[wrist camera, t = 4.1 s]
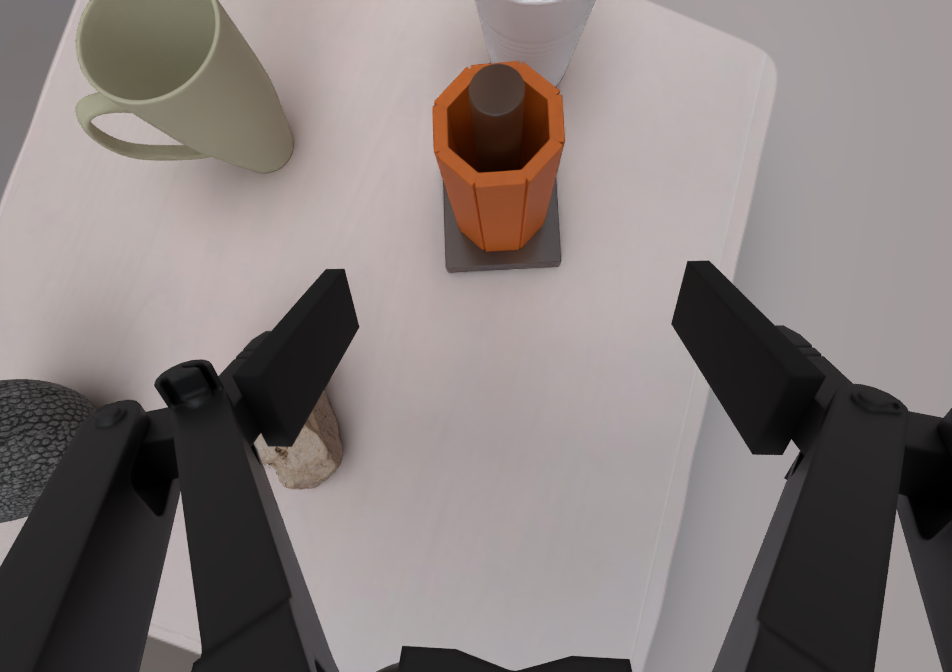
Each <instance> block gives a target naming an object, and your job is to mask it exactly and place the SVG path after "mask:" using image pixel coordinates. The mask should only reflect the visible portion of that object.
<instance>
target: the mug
mask: <svg viewBox="0 0 952 672" xmlns="http://www.w3.org/2000/svg"><path fill="white" fill-rule="evenodd" d="M76 53H77V58H78V62H79V65H80V68H81V70H82V72H83V74H84V76H85V77H86V79H87V80H88V82H89V83H90V84H91V85H92V86H93V87H94V88H95V89H96V90H97V91H98V93H94V94H91V95H88V96H86V97H84V98H82V99H81V100H80V101H79V102H78V103H77V105H76V116H77V119H78V121H79V123H80V125H81V127H82V128H83V130H84V131H85V132H86V133H87V134H88V135H89V136H90V137H91V138H92V139H93V140H94V141H96V142H97V143H99V144H100V145H102V146H103V147H105V148H107V149H109V150H111V151H113V152H115V153H118V154H120V155H123V156H127V157H130V158H135V159H142V160H158V161H163V160H192V159H203V158H209V157H212V158H215V159H217V160H221V161H224V162H227V163H230V164H234V165H237V166H240V167H244V168H247V169H250V170H253V171H257V172H261V173H268V172H273V171H276V170H278V169H279V168H281V167H282V166H283V165H285V163H286V162H287V161H288V160H289V158H290V156H291V154H292V151H293V137H292V134H291V131H290V128H289V126H288V123H287V120H286V117H285V115H284V112H283V109H282V106H281V103H280V101H279V98H278V95H277V93H276V91H275V88H274V86H273V84H272V82H271V80H270V78H269V76H268V74H267V73H266V71H265V69H264V68H263V66H262V64H261V63H260V61H259V60H258V58H257V57H256V55H255V53H254V52H253V50H252V49H251V48H250V46H249V45H248V43H247V42H246V40H245V39H244V37H243V36H242V34H241V33H240V32H239V30H238V29H237V27H236V26H235V24H234V23H233V21H232V20H231V18H230V17H229V15H228V14H227V13H226V11H225V10H224V8H223V7H222V5H221V4H220V2H219V1H218V0H90V1H89V3H88V4H87V6H86V8H85V10H84V12H83V14H82V16H81V19H80V21H79V25H78V29H77V34H76ZM108 113H133V114H134V115H136V116H137V117H139V118H141V119H142V120H144V121H146V122H147V123H149V124H151V125H152V126H154V127H155V128H157V129H159V130H160V131H162V132H164V133H165V134H167V135H169V136H170V137H172V138H173V139H175V140H177V141H179V142H180V143H182V144H184V145H144V144H135V143H130V142H125V141H122V140H119V139H116V138H114V137H112V136H109V135H108V134H106V133H104V132H102V131H101V130H100V129H98V128H97V127H96V126H94V125H93V124H92V123H91V120H92V119H93V118H95V117H97V116H99V115H102V114H108Z"/></svg>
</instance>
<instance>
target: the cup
mask: <svg viewBox="0 0 952 672" xmlns="http://www.w3.org/2000/svg"><path fill="white" fill-rule="evenodd" d="M595 1H596V0H475V2H476V6H477V9H478V13H479V17H480V21H481V25H482V29H483V32H484V36H485V40H486V44H487V48H488V51H489V56H490V59H491V63H500V62H511V61H519V63H520V64H521V63H522V62H525V63H526V64H527V65H528V66H530V67H531V68H532V69H533V70H535V71H536V72H537V73H538V74H540V75H541V76H542V77H543V78H545V79H546V80H547V81H548V82H550V83H551V84H552V85H553V86H556V85H557V84H558V83H559V82H560V81H561V79H562V77H563V76H564V73H565V71H566V69H567V66H568V64H569V62H570V59H571V56H572V54H573V52H574V50H575V47H576V45H577V42H578V40H579V38H580V36H581V33H582V31H583V28H584V26H585V24H586V21H587V19H588V17H589V14H590V12H591V9H592V8H593V6H594V3H595Z"/></svg>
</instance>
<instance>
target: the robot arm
mask: <svg viewBox="0 0 952 672" xmlns="http://www.w3.org/2000/svg"><path fill="white" fill-rule="evenodd" d="M671 324H672V326H673V327H674V329H675V331H676V332H677V334H678V335H679V337H680V339H681V340H682V342H683V344H684V345H685V347H686V348H687V350H688V352H689V353H690V355H691V356H692V358H693V360H694V361H695V363H696V364H697V366H698V368H699V369H700V371H701V372H702V374H703V376H704V377H705V379H706V380H707V382H708V384H709V385H710V387H711V388H712V390H713V392H714V393H715V395H716V396H717V398H718V400H719V401H720V403H721V404H722V406H723V407H724V409H725V411H726V412H727V414H728V416H729V417H730V419H731V420H732V422H733V424H734V425H735V427H736V428H737V430H738V432H739V433H740V435H741V437H742V438H743V440H744V441H745V443H746V444H747V446H748V447H749V449H750V451H751V453H752V454H756V455H760V454H761V455H783V453H784V451H785V449H786V448H787V446H788V444H789V442H790V440H791V439H792V440H793V441H794V443H795V444H796V446H797V447H798V448H799V450H800V452H799V454H798V456H797V457H796V459H795V461H794V463H793V464H792V466H791V468H790V469H789V471H788V473H787V474H786V476H785V479H787V482H786V484H785V487H784V489H783V492H782V494H781V497H780V500H779V502H778V505H777V507H776V510H775V512H774V515H773V517H772V520H771V523H770V525H769V528H768V530H767V533H766V535H765V538H764V540H763V543H762V546H761V548H760V551H759V553H758V556H757V558H756V561H755V563H754V566H753V569H752V572H751V574H750V576H749V579H748V581H747V584H746V587H745V589H744V592H743V594H742V597H741V599H740V602H739V604H738V607H737V609H736V612H735V615H734V617H733V620H732V622H731V625H730V627H729V630H728V632H727V635H726V638H725V640H724V643H723V645H722V648H721V650H720V653H719V655H718V658H717V661H716V663H715V666H714V668H713V671H712V672H874V668H875V661H876V654H877V646H878V639H879V632H880V625H881V618H882V610H883V603H884V596H885V588H886V581H887V574H888V567H889V560H890V552H891V544H892V538H893V531H894V523H895V515H896V509H897V511H898V515H899V518H900V521H901V525H902V529H903V532H904V536H905V539H906V543H907V546H908V550H909V553H910V557H911V560H912V564H913V567H914V571H915V574H916V578H917V581H918V585H919V588H920V592H921V596H922V599H923V602H924V606H925V610H926V613H927V617H928V620H929V624H930V627H931V631H932V634H933V638H934V641H935V645H936V648H937V652H938V655H939V659H940V663H941V666H942V670H943V672H952V408H951V409H950V411H949V412H948V413H947V414H946V416H945V417H944V418H941V417H935V416H930V415H925V414H920V413H914V412H910V411H908V409H907V407H906V406H905V405H904V404H903V403H902V402H901V401H900V400H898V399H896V398H895V397H893V396H892V395H890V394H889V393H886V392H884V391H881V390H879V389H877V388H874V387H870V386H866V385H861V384H853V383H852V382H851V381H849V380H848V379H847V378H846V377H845V376H844V375H843V374H842V373H841V372H840V371H839V370H838V369H836V367H834V366H833V365H832V364H831V363H830V362H829V361H828V360H827V359H826V358H825V357H823V356H821V353H819V352H818V351H817V350H816V349H815V348H812V345H811V344H810V343H809V342H808V341H807V340H805V339H804V338H803V337H802V336H801V335H800V334H798V333H796V332H794V331H792V330H791V329H789V328H787V327H785V326H775V325H774V324H773V323H772V322H771V321H770V320H769V319H768V318H766V316H764V314H763V313H761V312H760V311H759V310H758V309H757V308H756V307H755V306H754V305H753V304H752V303H751V302H750V301H749V300H748V299H747V298H746V297H745V296H744V295H743V294H742V293H741V292H740V291H739V290H738V289H737V288H736V287H735V286H734V285H733V284H732V283H731V282H730V281H729V280H728V279H727V278H726V277H725V276H724V275H723V274H722V273H721V272H720V271H719V270H718V269H717V268H716V267H715V266H714V265H713V264H712V263H711V262H710V261H687V265H686V269H685V273H684V277H683V281H682V284H681V288H680V292H679V296H678V300H677V304H676V308H675V312H674V316H673V319H672V323H671ZM358 329H359V324H358V320H357V316H356V312H355V308H354V304H353V300H352V296H351V293H350V289H349V285H348V281H347V277H346V273H345V269H326V270H325V271H324V272H323V273H322V274H321V275H320V277H319V278H318V279H317V280H316V281H315V282H314V283H313V284H312V286H311V287H310V288H309V289H308V290H307V291H306V292H305V294H304V295H303V296H302V297H301V298H300V299H299V300H298V302H297V303H296V304H295V305H294V306H293V307H292V308H291V309H290V311H289V312H288V313H287V314H286V315H285V316H284V317H283V319H282V320H281V321H280V322H279V323H278V324H277V325H276V327H275V328H274V329H273V330H272V331H265V332H264V333H262V334H261V335H259V336H257V337H256V338H254V339H253V340H252V341H251V342H250V343H249V344H248V345H247V346H246V347H245V348H244V349H243V351H241V352H240V354H239V355H238V356H237V357H236V359H234V360H233V361H232V362H231V363H230V364H229V366H228V367H227V368H226V369H225V370H224V371H223V372H222V373H221V374H220V375H219V376H218V375H217V373H216V371H215V369H214V368H213V366H212V364H211V363H210V362H209V361H206V360H191V361H187V362H184V363H180V364H178V365H176V366H174V367H171V368H170V369H168V370H167V371H165V372H164V373H162V374H161V375H160V376H159V377H158V378H157V379H156V382H155V385H154V386H155V388H156V389H157V391H158V392H159V394H160V395H161V397H162V398H163V400H164V401H165V403H166V404H167V406H168V407H167V408H163V409H158V410H153V411H149V412H145V410H144V409H143V408H142V406H141V405H140V404H139V403H138V402H137V401H135V400H124V401H118V402H115V403H112V404H108V405H105V406H103V407H102V408H99V409H98V410H96V411H95V412H94V413H92V414H91V415H89V416H88V417H87V418H86V419H85V420H84V421H83V422H82V423H81V425H80V426H79V428H78V430H77V431H76V433H75V435H74V437H73V438H72V440H71V442H70V444H69V446H68V447H67V449H66V451H65V453H64V454H63V456H62V458H61V460H60V462H59V463H58V465H57V467H56V469H55V470H54V472H53V474H52V476H51V478H50V479H49V481H48V483H47V485H46V486H45V488H44V490H43V492H42V494H41V495H40V497H39V499H38V501H37V502H36V504H35V506H34V508H33V510H32V511H31V513H30V515H29V517H28V518H27V520H26V522H25V524H24V526H23V527H22V529H21V531H20V533H19V534H18V536H17V538H16V540H15V542H14V543H13V545H12V547H11V549H10V551H9V552H8V554H7V556H6V558H5V559H4V561H3V563H2V565H1V567H0V672H139V670H140V666H141V661H142V657H143V653H144V648H145V644H146V639H147V635H148V631H149V626H150V622H151V618H152V613H153V609H154V605H155V600H156V596H157V592H158V587H159V583H160V578H161V574H162V570H163V565H164V561H165V557H166V552H167V548H168V544H169V539H170V535H171V531H172V526H173V522H174V517H175V513H176V509H177V504H178V500H179V496H180V491H181V496H182V504H183V511H184V518H185V526H186V533H187V541H188V548H189V556H190V563H191V570H192V578H193V585H194V593H195V600H196V607H197V615H198V622H199V630H200V637H201V645H202V654H201V658H199V659H198V660H197V661H195V662H194V663H193V667H192V671H191V672H339V670H338V668H337V666H336V664H335V661H334V659H333V657H332V654H331V652H330V649H329V646H328V643H327V641H326V638H325V635H324V632H323V630H322V627H321V624H320V621H319V619H318V616H317V613H316V610H315V608H314V605H313V602H312V599H311V596H310V594H309V591H308V588H307V585H306V583H305V580H304V577H303V574H302V572H301V569H300V566H299V563H298V560H297V558H296V555H295V552H294V549H293V547H292V544H291V541H290V538H289V536H288V533H287V530H286V527H285V525H284V522H283V519H282V516H281V513H280V511H279V508H278V505H277V502H276V500H275V497H274V494H273V491H272V489H271V486H270V483H269V480H268V478H267V475H266V472H265V469H264V466H263V464H262V461H261V458H260V455H259V453H258V450H257V448H256V446H255V445H254V442H255V441H256V439H257V438H258V436H259V435H260V433H261V434H262V436H263V438H264V440H265V442H266V444H267V446H268V447H292V446H293V444H294V443H295V441H296V439H297V437H298V435H299V434H300V432H301V430H302V428H303V427H304V425H305V423H306V421H307V419H308V418H309V416H310V414H311V412H312V410H313V409H314V407H315V405H316V403H317V402H318V400H319V398H320V396H321V394H322V393H323V391H324V389H325V387H326V386H327V384H328V382H329V380H330V378H331V377H332V375H333V373H334V371H335V370H336V368H337V366H338V364H339V362H340V361H341V359H342V357H343V355H344V353H345V352H346V350H347V348H348V346H349V345H350V343H351V341H352V339H353V337H354V336H355V334H356V332H357V330H358ZM377 672H632V669H631V664H630V659H615V658H598V657H581V656H570V657H566V658H563V659H559V660H555V661H551V662H548V663H544V664H540V665H537V666H533V667H529V668H526V669H522V670H518V671H511V670H508V669H505V668H502V667H500V666H497V665H495V664H492V663H490V662H487V661H485V660H482V659H480V658H477V657H475V656H472V655H469V654H467V653H464V652H462V651H459V650H457V649H444V648H427V647H410V646H402V650H401V656H400V661H399V663H396V664H392V665H390V666H387V667H385V668H383V669H381V670H378V671H377Z"/></svg>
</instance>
